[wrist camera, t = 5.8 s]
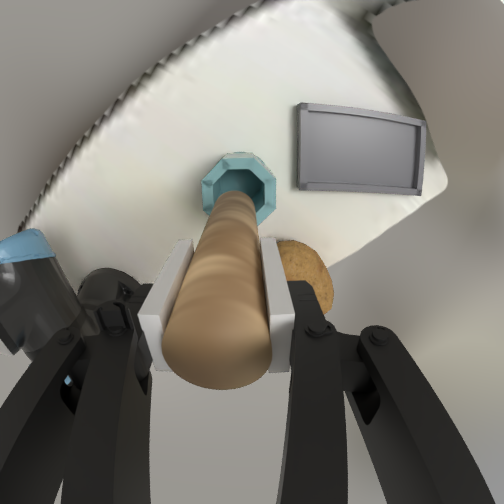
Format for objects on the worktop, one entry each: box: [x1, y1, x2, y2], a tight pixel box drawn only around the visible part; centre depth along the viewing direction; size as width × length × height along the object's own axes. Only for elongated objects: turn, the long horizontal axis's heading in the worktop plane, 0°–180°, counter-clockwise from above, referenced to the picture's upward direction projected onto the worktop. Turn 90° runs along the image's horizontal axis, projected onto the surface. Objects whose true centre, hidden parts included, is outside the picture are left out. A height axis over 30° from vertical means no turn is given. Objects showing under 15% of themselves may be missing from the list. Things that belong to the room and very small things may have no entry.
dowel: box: [161, 191, 272, 390], centre depth 16 cm, size 4×4×17 cm
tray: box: [297, 103, 426, 196], centre depth 35 cm, size 20×12×2 cm, turn 91°
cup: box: [201, 152, 276, 226], centre depth 34 cm, size 8×8×10 cm
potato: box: [277, 240, 334, 314], centre depth 41 cm, size 10×14×8 cm
